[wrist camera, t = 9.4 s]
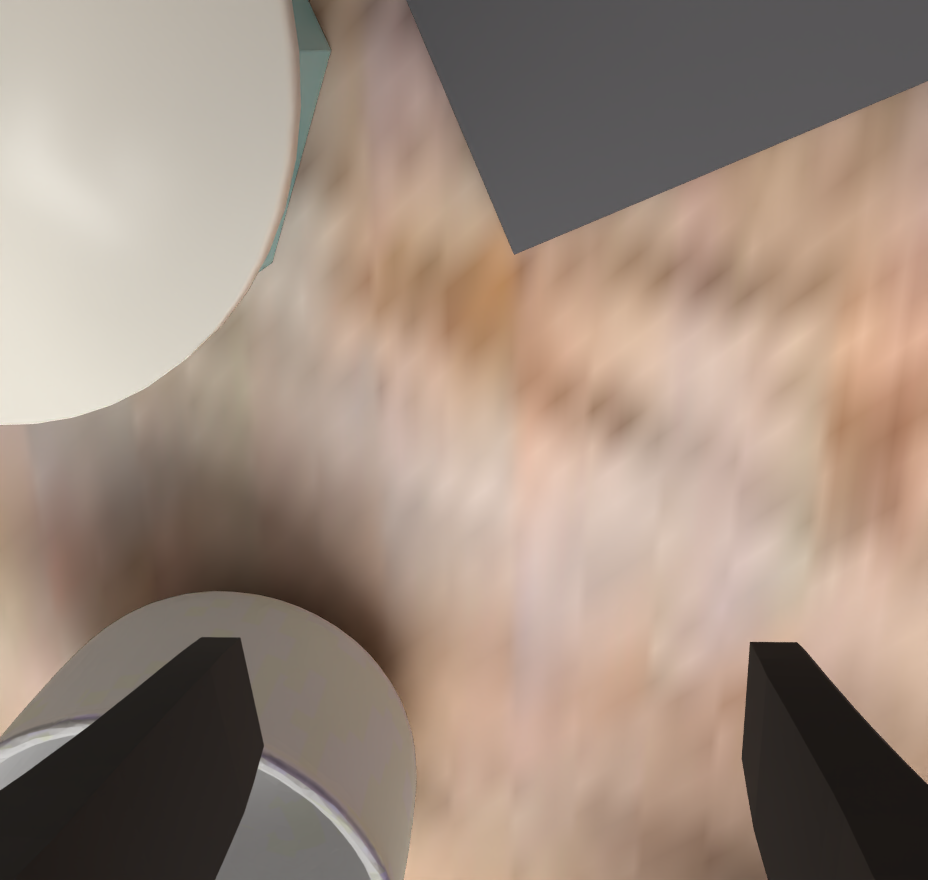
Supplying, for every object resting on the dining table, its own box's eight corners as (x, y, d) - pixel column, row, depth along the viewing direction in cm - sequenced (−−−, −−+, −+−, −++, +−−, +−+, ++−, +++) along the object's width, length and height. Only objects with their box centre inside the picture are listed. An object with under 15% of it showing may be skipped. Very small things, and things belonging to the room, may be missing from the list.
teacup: (31, 613, 27) (-176, 827, 19) (322, 477, 23) (204, 672, 16) (280, 911, 31) (188, 1177, 24) (555, 831, 28) (546, 1112, 20)
